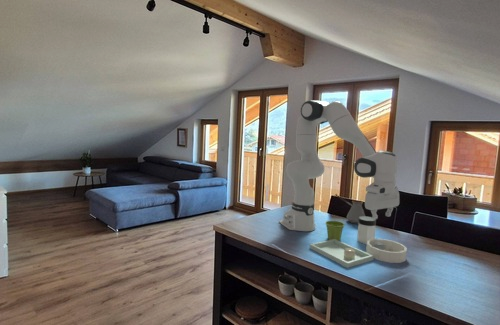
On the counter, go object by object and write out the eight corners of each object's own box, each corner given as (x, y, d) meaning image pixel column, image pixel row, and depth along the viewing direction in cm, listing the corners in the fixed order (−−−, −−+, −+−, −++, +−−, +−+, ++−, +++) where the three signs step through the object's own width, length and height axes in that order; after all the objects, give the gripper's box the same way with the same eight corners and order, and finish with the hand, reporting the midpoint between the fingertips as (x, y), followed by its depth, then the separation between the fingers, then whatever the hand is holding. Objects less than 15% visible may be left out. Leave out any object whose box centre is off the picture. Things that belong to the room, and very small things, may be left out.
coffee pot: (369, 222, 181) (370, 198, 179) (361, 226, 173) (362, 201, 171) (337, 214, 196) (338, 192, 194) (328, 218, 188) (330, 195, 186)
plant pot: (321, 239, 149) (321, 222, 148) (330, 235, 156) (331, 219, 155) (337, 244, 142) (338, 227, 141) (346, 240, 149) (348, 223, 148)
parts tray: (309, 249, 135) (310, 244, 135) (334, 243, 144) (334, 238, 143) (347, 269, 117) (347, 263, 116) (373, 261, 125) (373, 255, 124)
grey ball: (371, 250, 134) (372, 243, 134) (378, 249, 136) (378, 241, 136) (380, 254, 130) (381, 246, 130) (386, 252, 133) (387, 244, 132)
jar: (356, 237, 153) (358, 215, 152) (373, 239, 151) (375, 217, 150) (357, 243, 145) (359, 220, 144) (375, 245, 142) (376, 222, 141)
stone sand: (341, 257, 126) (342, 249, 126) (348, 255, 129) (349, 247, 128) (349, 261, 123) (350, 253, 122) (356, 259, 125) (357, 251, 125)
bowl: (358, 252, 133) (359, 242, 133) (380, 246, 142) (381, 236, 141) (391, 267, 120) (392, 255, 119) (413, 259, 128) (414, 248, 127)
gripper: (391, 184, 138) (389, 213, 140) (363, 187, 128) (360, 218, 129) (404, 187, 133) (401, 216, 134) (375, 190, 122) (373, 222, 124)
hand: (381, 217), depth 132 cm, fingers open, 8 cm apart
